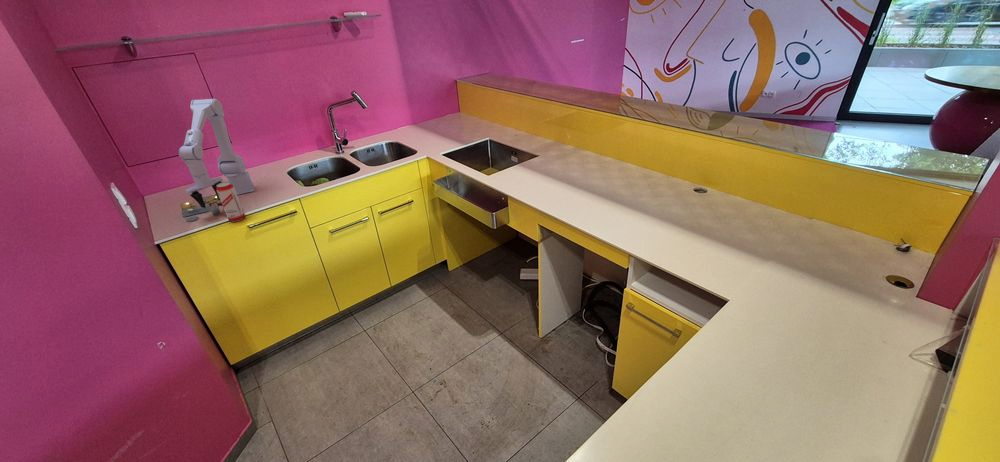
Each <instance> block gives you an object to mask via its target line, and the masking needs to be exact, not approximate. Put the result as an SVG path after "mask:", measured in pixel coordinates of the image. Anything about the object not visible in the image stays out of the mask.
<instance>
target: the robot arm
mask: <svg viewBox="0 0 1000 462" xmlns="http://www.w3.org/2000/svg"><path fill="white" fill-rule="evenodd" d="M189 105H190V106H189V107H190V110H191V112H192V120H191V127H190V128H191V129H188V130H187V131H186V134H185V139H184V142H183V145H182V146H181V147H179V149H178V157H179V158H180V159H181V160H182V161H183V162H184V164H185V165H186V166H187V168H188V170H189V173H190V176H191V177H192V180H193V182H194V184H195V185H194V184H193V186H191V187H189V188H187V189H185V190H184V191H185V194H186V195H187V196H190V198H192V199H194V200H195V201H196V202H197V203H198V204H199V205H198V206H201V207H202V208H205V207H206V206H205V203H204V201H203V198H202V197H203V194H202V193H200V191H202V190H205V189H207V188H210V187H212V189H213V191H214V193H215V194H216V195H217V198H218V200H220V198H219V195H218V193H217V186H216V185H217V184H219V183H222V182H224V180H223V178H222V177H220V176H218V177H215V178H212V179H211V176H210V174H209V172H208V170H207V166H206V165H205V162H204V159H203V157H204V150H203V141H204V135H205V134H204V133H203V132H202V131H203V128H204V126H205V123H206V120H208V121H209V122H210V123H211V128H212V130H213V133H214V136H215V140H216V143H217V146H218V150H219V153H220V156H219V157H218V158H217V168H218V171H219V172H220V174H222V175H223V176H224V177H226V179H227V182H231V184H232V185H233V186H234V188H235V191H236V193H237V196H240V195H244V194H248V193H252V192H255V187H254V185H255V184H254V182H253V181H252V179H251V175H250V173H249V171H246V170H247V166H246V163H245V161H244V160H243V157H242V156H240V155H239V154H237V153H235V152H234V149H233V146H232V143H231V139H230V135H229V132H228V129H227V125H226V122H225V120H224V117H225V112H224V109H223V108H224V107H223V105H222V103H221V101H220V100H218V98H207V99H205V98H204V99H192V100H191V102H190V104H189Z"/></svg>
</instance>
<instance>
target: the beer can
mask: <svg viewBox="0 0 1000 462" xmlns="http://www.w3.org/2000/svg"><path fill="white" fill-rule="evenodd" d="M216 186H217V193H218V195H219V198H220V200H221V203H222V204H221V205H222V207H223V209H224V213H225V214H226V216H227V219H228V221H230V222H233V223H235V222H236V223H237V222H240V221H242V220H243V219H244V218H245V216H246V214H245V212H244V209H243V207H242V203H241V202H240V199H239V197H238V196H239V195H237V193H236V191H235V188H234V186H233V185H232V184H231V182H228V181H223V182H222V183H219V184H217V185H216Z"/></svg>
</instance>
